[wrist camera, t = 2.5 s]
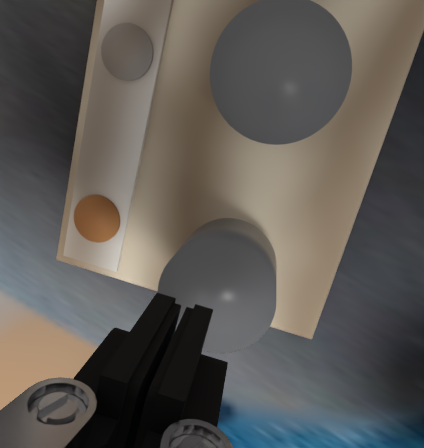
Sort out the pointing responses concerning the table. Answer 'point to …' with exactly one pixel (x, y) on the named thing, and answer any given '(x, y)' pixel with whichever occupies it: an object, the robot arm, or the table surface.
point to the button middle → (280, 70)
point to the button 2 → (225, 282)
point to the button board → (222, 148)
